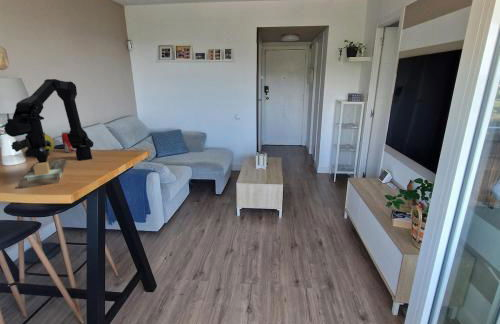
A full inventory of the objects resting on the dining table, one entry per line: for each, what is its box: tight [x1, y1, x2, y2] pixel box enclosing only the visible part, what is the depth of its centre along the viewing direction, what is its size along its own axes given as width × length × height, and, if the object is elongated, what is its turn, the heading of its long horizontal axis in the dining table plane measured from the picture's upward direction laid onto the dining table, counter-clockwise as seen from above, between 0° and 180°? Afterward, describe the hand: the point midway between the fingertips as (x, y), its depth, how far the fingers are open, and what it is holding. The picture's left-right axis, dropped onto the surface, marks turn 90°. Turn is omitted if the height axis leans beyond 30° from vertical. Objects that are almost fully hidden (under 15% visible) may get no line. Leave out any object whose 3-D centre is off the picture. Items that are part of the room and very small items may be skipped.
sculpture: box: [32, 133, 55, 157], centre depth 154 cm, size 15×13×13 cm
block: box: [32, 162, 50, 175], centre depth 116 cm, size 4×4×4 cm
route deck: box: [19, 158, 68, 189], centre depth 122 cm, size 12×32×4 cm, turn 27°
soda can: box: [60, 130, 76, 154], centre depth 160 cm, size 7×7×12 cm
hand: (43, 167), depth 119 cm, fingers closed
